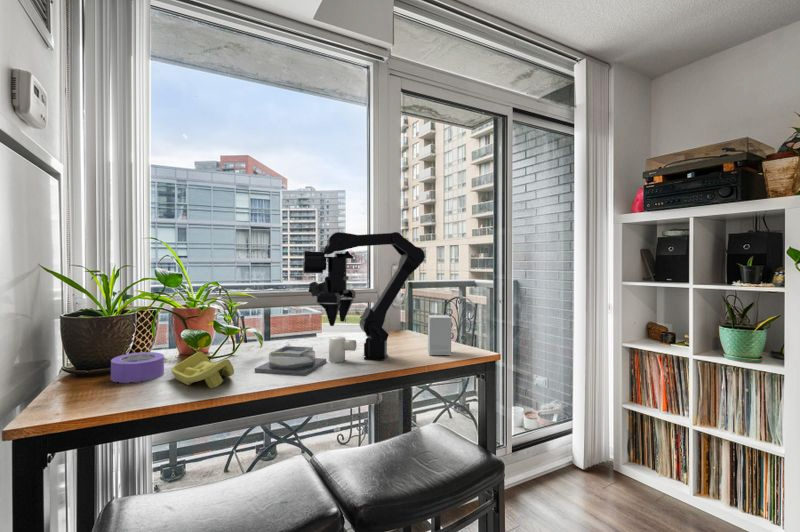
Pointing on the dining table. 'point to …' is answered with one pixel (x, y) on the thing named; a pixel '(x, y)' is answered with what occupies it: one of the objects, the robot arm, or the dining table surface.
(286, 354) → the duct stub
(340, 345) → the elbow fitting
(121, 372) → the tape roll
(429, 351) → the supplement box
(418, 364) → the dining table surface
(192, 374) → the plastic component
